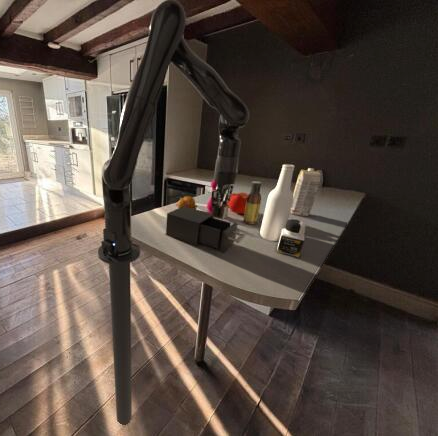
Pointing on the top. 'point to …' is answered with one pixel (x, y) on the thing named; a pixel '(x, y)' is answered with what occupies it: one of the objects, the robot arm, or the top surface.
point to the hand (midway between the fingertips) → (219, 214)
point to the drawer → (218, 233)
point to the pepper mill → (209, 205)
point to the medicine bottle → (292, 238)
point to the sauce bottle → (253, 204)
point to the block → (222, 211)
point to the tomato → (238, 202)
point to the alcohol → (278, 206)
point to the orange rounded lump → (187, 202)
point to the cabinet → (186, 224)
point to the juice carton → (305, 192)
